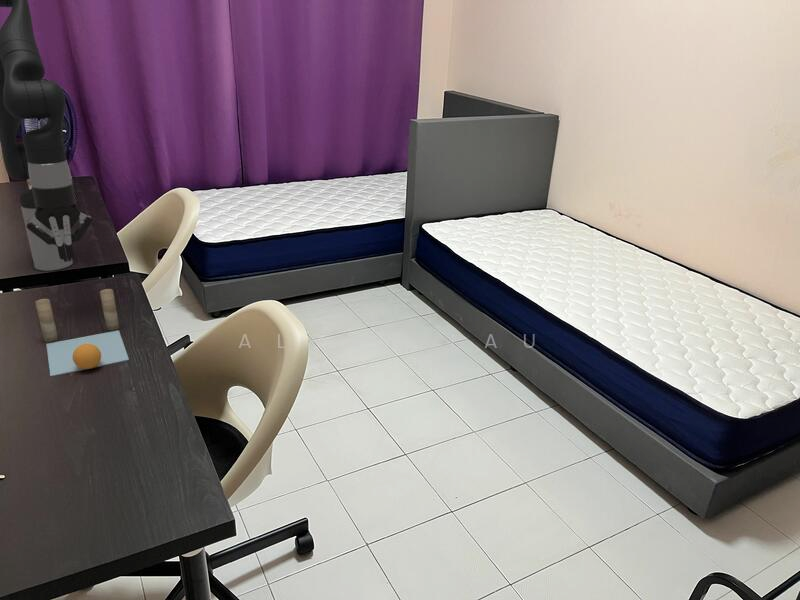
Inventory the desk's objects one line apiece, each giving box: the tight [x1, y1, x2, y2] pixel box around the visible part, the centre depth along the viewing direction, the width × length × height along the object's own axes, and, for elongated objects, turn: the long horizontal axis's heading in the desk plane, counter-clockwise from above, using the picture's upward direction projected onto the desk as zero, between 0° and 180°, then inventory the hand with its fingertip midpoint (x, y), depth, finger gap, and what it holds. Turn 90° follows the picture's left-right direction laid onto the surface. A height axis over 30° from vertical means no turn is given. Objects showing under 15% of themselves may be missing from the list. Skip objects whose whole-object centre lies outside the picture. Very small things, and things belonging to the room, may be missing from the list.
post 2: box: [99, 288, 120, 332], centre depth 131 cm, size 3×3×9 cm
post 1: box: [35, 298, 59, 344], centre depth 125 cm, size 3×3×9 cm
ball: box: [73, 344, 101, 370], centre depth 117 cm, size 5×5×5 cm
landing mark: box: [46, 329, 130, 377], centre depth 123 cm, size 14×14×1 cm
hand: (67, 260), depth 131 cm, fingers closed
